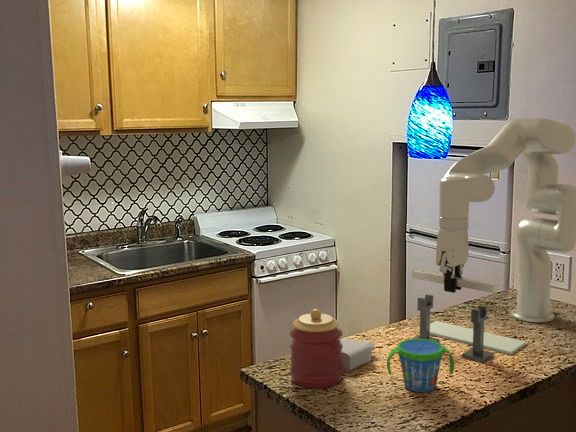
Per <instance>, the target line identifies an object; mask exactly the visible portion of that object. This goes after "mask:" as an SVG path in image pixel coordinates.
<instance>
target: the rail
mask: <svg viewBox="0 0 576 432" xmlns="http://www.w3.org/2000/svg"><path fill="white" fill-rule="evenodd" d="M454 278H456V286H458V287H461V288H464V289H468V290H469V289H470V290H474V291H475V290H476V291H481V292H486V293H491V294H493V293H496V292H498V286H499V285H498V282H492V281H487V280H480V279H475V278H470V277H464V276H462V277H457V276H455V277H454ZM411 279H414V280H421V281H425V282H431V283H437V284H442V285H444V277H443V273H441V272H440V273H438V272H435V271H428V270H423V269H417V268H416V269H414V270H411Z"/></svg>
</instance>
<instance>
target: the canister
mask: <svg viewBox="0 0 576 432" xmlns="http://www.w3.org/2000/svg"><path fill="white" fill-rule="evenodd" d="M292 326H293V327H292V328H291V329H290V330H289V336H290V337H291V342H290V344H289V348H290V368H289V371H290V372H289V374H290V378H291V380H292V381H293V383H295V384H297V385H299V386H301V387H304V388H309V389H310V388H311V389H321V388H328V387H329V388H330V387H331V386H335V385H337V384H339V383H340V382H341V380H342V378H343V374H344V373H343V370H344V369H343V368H342V347H343V345H342V343H341V340H342V339H341V338H342V336H343V330H342V329H341V328H340V327H339V326H340V322H339V320H337V319H336V318H334V317H333V316H332V315H330V314H326V313H322V312H321V310H320V309H318V308H313V309H312V310H311V312H310V313H305V314H302V315H300V316H299V317H298V318H296V319H295V320H293V322H292Z"/></svg>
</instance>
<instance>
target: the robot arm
mask: <svg viewBox="0 0 576 432" xmlns="http://www.w3.org/2000/svg"><path fill="white" fill-rule="evenodd" d="M575 144H576V133H575V131H574V129H573V128H572V127H571V126H570V125H569V124H565V123H562V122H559V121H555V120H552V119H548V118H543V117H542V118H540V117H539V118H534V117H533V118H530V117H527V118H514V119H510V120H509V121H508V122H507V123H506V124H504V126H503V127H502V128H501V129H500V130H499V132H497V134H496V135H495V136H494V138H492V140H491V141H489V143H488V144H487V145H486V146H485V147H482V148H480V149H478V150H475V151H474V152H472V153H469V154H467V155H465V156H464V157H462V158H460V159H459V160H457V161H456V162H455V163H454V164H453V165H452V166H451V167H450V168H449V170H448V171H447V172H446V173H445V175H444V176H443V178H441V179H440V182H439V208H438V209H439V216H438V217H439V220H438V224H439V226H438V233H437V240H436V248H435V249H436V250H435V265H436V266H437V267H438V266H439V272H440V273H441V274H443V277H444V284H443V290H444V292H446V293H447V292H449V293H452V294H453V293H454V294H455V293H456V292H457V290H458V291H460V290H462V287H458V286H456V278H454V277H455V276H457V277H463V276H462V275H463V269H464V266H465V264H466V263H467V261H468V260H469V233H468V230H469V220H470V219H469V214H470V211H469V208H470V203H484V202H487V201H488V200H490V199H491V198H492V197H493V196H494V193H495V190H496V189H495V188H496V187H495V183H494V181H493V179H492V178H491V177H490V176H488V175H489V174H492V173H496V172H500V171H504V170H506V169H508V168H509V167H511V166H512V165H513V163H515V161H516V160H517V158H518V157H519V156H520V154H521V153H522V154H523V155H524V157H525V160H526V161H527V165H528V166H527V168H528V170H527V171H528V172H527V173H528V174H527V183H526V191H525V192H526V193H525V206H526V208H527V210H528V211H529V212H532V213H535V214H542V215H550V216H557V219H551V218H544V217H535V216H534V217H533V216H532V217H531V216H530V217H526V218H523V219H522V220H520V222H519V223H518V225H517V227H516V239H517V244H518V245H517V246H518V275H517V295H516V296H517V297H516V301H517V302H516V308H513V309H512V310H511V316H512V317H513V318H515V319H517V320H520V321H523V322H528V323H529V322H530V323H548V322H551V321H553V320H555V314H554V312H552V311H550V305H551V304H552V302H551V299H550V297H551V283H552V281H551V278H552V260H551V257H550V255H549V253H548V252H549V251H550V252H556V253H563V254H565V253H570V252H572V251H573V250H574V248H575V247H576V186H574V185H572V184H571V185H570V184H565V183H563V184H562V183H559V182H558V181H559V180H558V176H559V165H558V162H557V160H556V158H555V156H554V155H567V154H569V153H570V152H571V151H572V150H573V149H574V148H575ZM487 174H488V175H487Z"/></svg>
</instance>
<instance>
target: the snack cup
mask: <svg viewBox="0 0 576 432" xmlns="http://www.w3.org/2000/svg"><path fill="white" fill-rule="evenodd" d="M444 353H446V354H448V356H449V369H448V373H450V374H453V372H454V369H455V361H454V356H453V354H452V353H451V352H450V350H449V349H448V348H447V347H445V346H444V345H442V344H441V343H440V342H439V343H438V342H436V341H433V340H428V339H413V338H409V339H405V340H402V341H400V342H399V343H398V345H397V346H396V347H395V348H393V349H391V351H390V352H389V354H388V356H387V359H386V367H387V372H388V374H389V376H391V374H392V371H391V364H390V361H391V359H392V358H393V356H394V355H395V354H398V358H399V362H400V366H401V372H402V373H401V374H402V379H403V383H404V386H405V388H407V389H409V390H410V391H412V392H415V393H426V392H433V391H434V389H435V388H436V387H437V384H438V380H439V373H440V367H441V361H442V358H443V355H444Z"/></svg>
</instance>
